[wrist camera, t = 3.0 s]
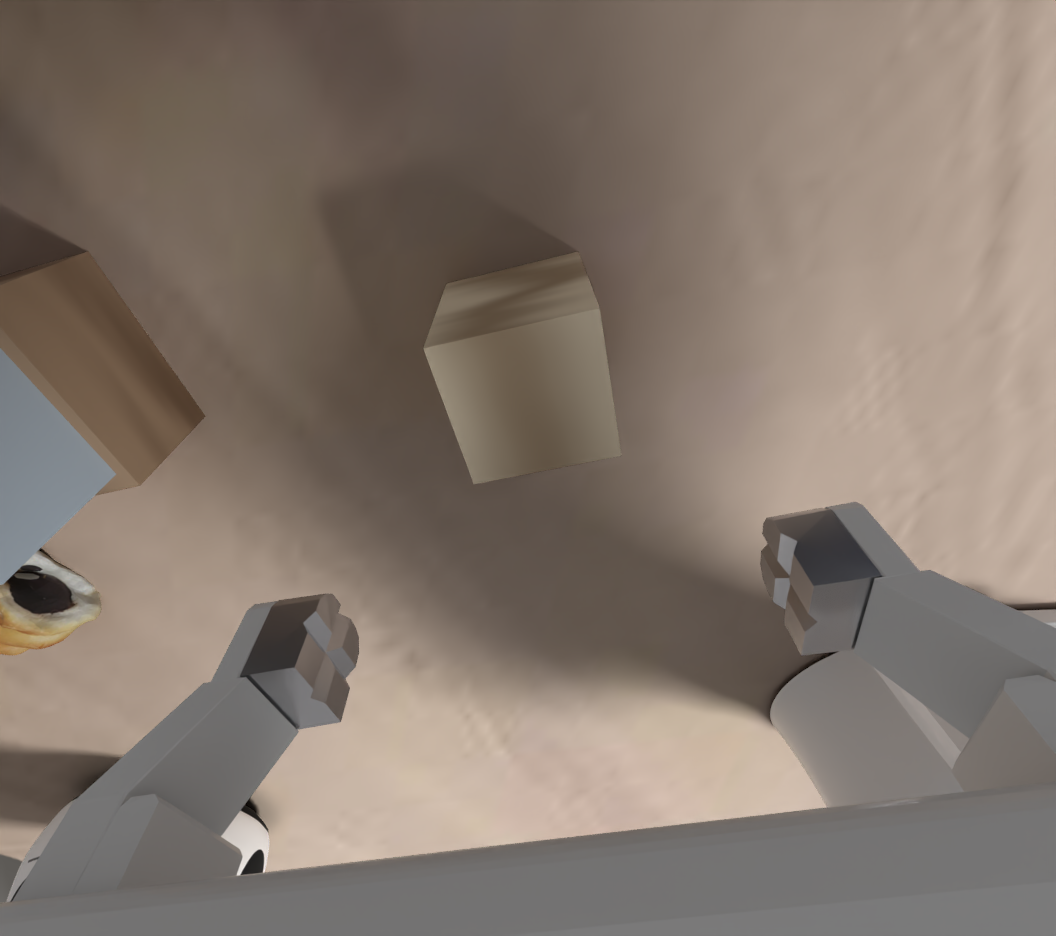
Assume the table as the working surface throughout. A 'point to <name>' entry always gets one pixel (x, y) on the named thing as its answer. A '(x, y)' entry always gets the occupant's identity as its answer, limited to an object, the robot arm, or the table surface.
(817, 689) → the robot arm
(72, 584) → the pastry
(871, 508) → the table surface
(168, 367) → the walnut block
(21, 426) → the slate block
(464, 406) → the beech cube
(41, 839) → the milk container
